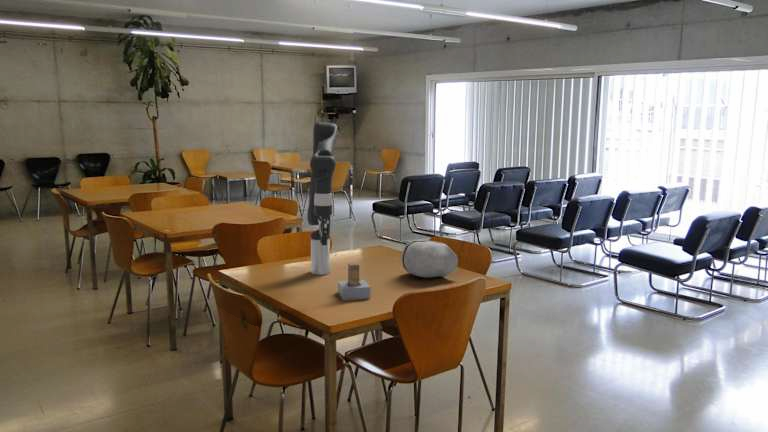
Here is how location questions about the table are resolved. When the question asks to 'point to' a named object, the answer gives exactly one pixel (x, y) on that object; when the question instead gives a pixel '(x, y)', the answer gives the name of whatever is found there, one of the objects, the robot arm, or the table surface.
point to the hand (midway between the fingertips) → (323, 244)
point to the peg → (353, 274)
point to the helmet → (429, 259)
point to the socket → (354, 290)
